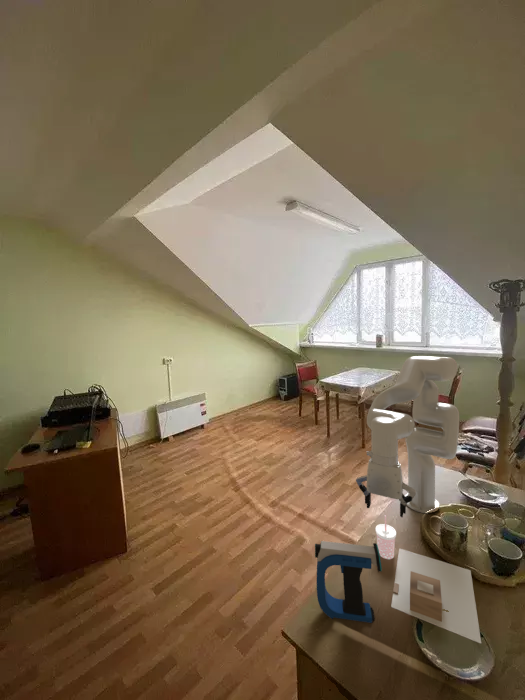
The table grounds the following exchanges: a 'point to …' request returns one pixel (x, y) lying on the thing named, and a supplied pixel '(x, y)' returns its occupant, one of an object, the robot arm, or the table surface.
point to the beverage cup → (385, 540)
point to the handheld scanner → (346, 578)
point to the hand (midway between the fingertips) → (384, 510)
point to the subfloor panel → (453, 593)
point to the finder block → (425, 596)
